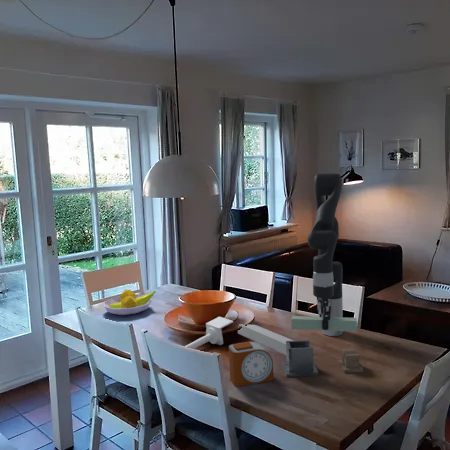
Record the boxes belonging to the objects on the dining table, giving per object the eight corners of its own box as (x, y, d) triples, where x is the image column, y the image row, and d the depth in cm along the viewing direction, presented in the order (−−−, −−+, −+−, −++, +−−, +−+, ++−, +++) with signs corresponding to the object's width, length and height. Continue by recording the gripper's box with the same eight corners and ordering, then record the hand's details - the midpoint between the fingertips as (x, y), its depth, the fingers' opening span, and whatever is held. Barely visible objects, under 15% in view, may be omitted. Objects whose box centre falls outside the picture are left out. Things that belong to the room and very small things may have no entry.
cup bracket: (282, 364, 184) (281, 339, 182) (312, 362, 184) (312, 338, 182) (286, 376, 173) (285, 351, 171) (318, 375, 173) (317, 349, 171)
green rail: (292, 325, 181) (292, 315, 180) (356, 328, 175) (356, 317, 175) (291, 329, 177) (291, 319, 177) (356, 331, 172) (356, 321, 171)
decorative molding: (253, 334, 224) (237, 334, 219) (255, 324, 224) (239, 324, 219) (304, 356, 197) (287, 357, 191) (306, 345, 197) (289, 345, 191)
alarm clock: (235, 387, 166) (234, 351, 164) (228, 377, 174) (227, 343, 172) (274, 380, 170) (273, 345, 168) (265, 371, 178) (264, 337, 177)
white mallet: (233, 321, 208) (175, 350, 188) (235, 338, 210) (179, 370, 190) (219, 316, 215) (162, 344, 195) (222, 333, 217) (166, 363, 197)
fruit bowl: (94, 318, 250) (92, 297, 248) (120, 303, 275) (118, 284, 274) (141, 321, 242) (140, 300, 240) (163, 305, 267) (162, 286, 266)
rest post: (338, 362, 183) (338, 348, 182) (356, 361, 183) (356, 347, 182) (344, 372, 174) (344, 357, 173) (363, 372, 174) (363, 356, 173)
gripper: (309, 278, 181) (310, 321, 183) (317, 288, 167) (317, 334, 169) (328, 277, 181) (329, 320, 183) (337, 287, 167) (338, 333, 169)
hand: (323, 326), depth 176 cm, fingers closed on green rail, 4 cm apart
